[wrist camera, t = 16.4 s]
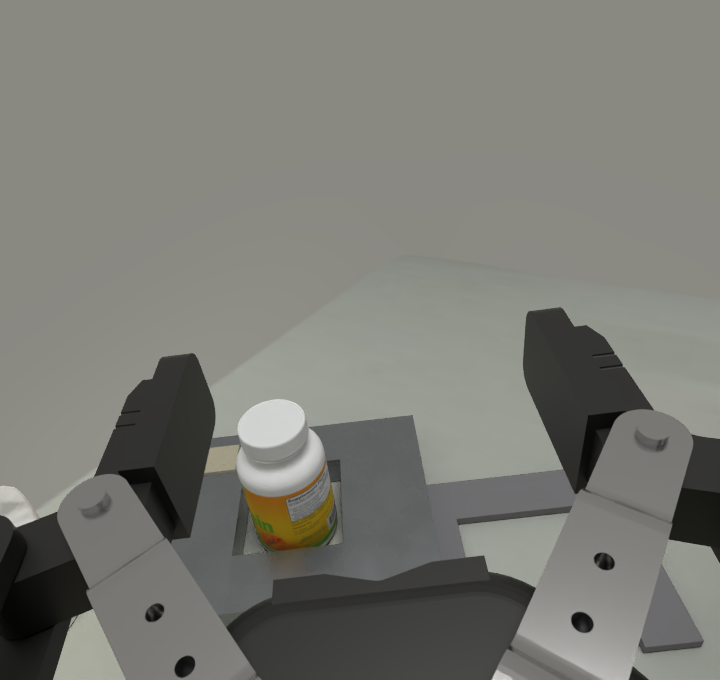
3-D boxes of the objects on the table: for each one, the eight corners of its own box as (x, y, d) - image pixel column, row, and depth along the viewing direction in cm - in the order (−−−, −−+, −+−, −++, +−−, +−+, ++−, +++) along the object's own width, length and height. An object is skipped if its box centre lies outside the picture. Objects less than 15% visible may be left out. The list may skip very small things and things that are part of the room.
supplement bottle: (244, 523, 39) (208, 419, 33) (310, 482, 41) (287, 379, 35) (284, 578, 35) (251, 472, 29) (353, 529, 37) (335, 423, 32)
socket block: (413, 435, 44) (412, 413, 42) (446, 610, 32) (446, 587, 31) (184, 462, 44) (175, 440, 42) (136, 644, 32) (121, 623, 31)
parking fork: (405, 493, 39) (404, 487, 39) (605, 470, 39) (606, 464, 39) (433, 675, 29) (433, 670, 29) (700, 646, 29) (703, 640, 29)
